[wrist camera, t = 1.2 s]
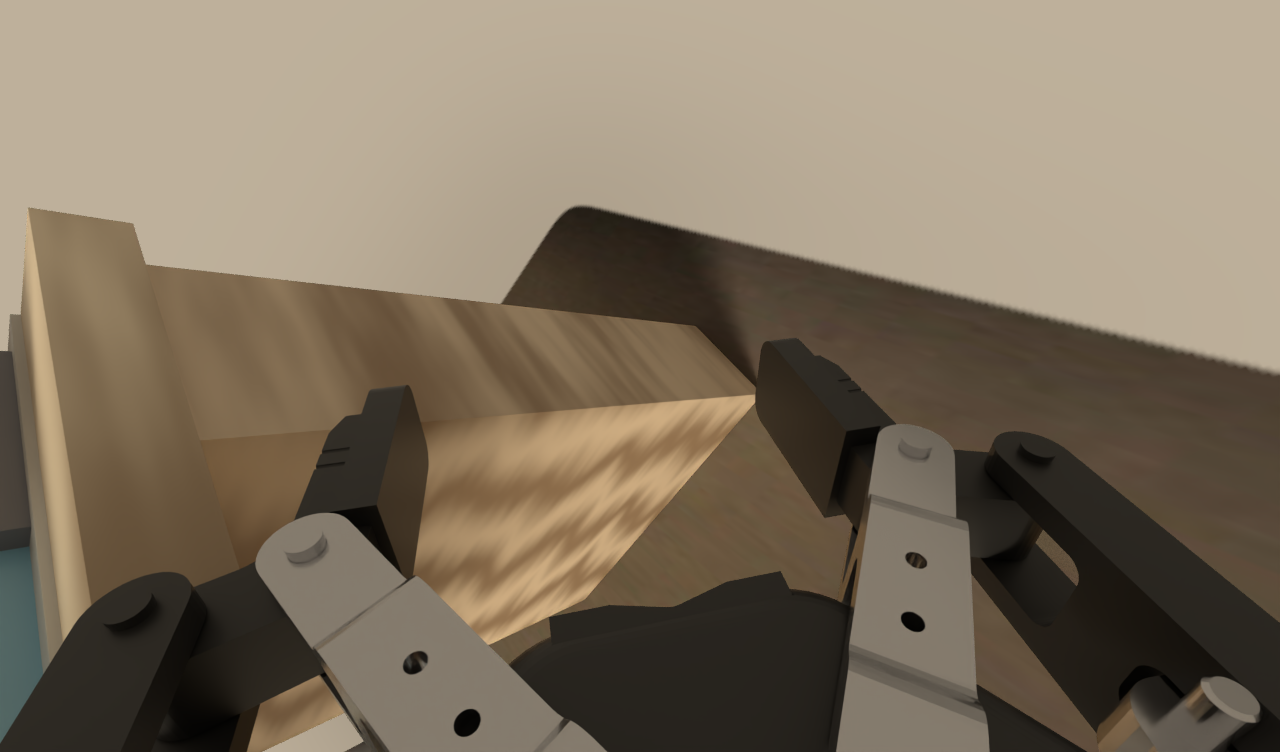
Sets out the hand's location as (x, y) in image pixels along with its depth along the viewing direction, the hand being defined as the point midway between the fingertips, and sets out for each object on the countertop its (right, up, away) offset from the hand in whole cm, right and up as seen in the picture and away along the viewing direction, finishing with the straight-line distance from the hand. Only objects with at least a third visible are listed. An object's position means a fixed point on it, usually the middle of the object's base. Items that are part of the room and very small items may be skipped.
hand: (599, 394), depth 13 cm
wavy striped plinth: (+2, -9, +29) cm, 30 cm away
